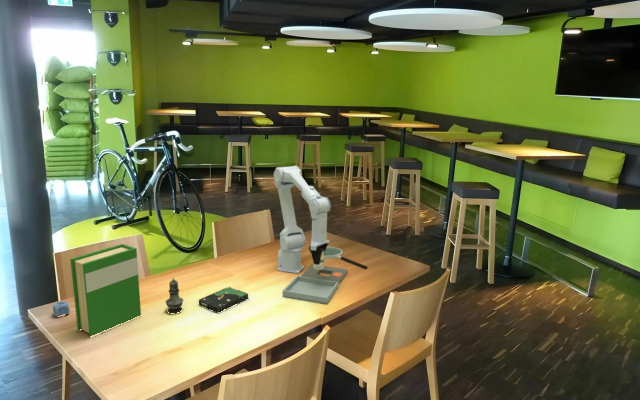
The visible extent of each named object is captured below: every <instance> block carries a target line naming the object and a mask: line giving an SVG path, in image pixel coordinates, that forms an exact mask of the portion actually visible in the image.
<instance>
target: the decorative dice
mask: <svg viewBox="0 0 640 400" xmlns="http://www.w3.org/2000/svg"><path fill="white" fill-rule="evenodd" d="M52 311H53V315H54V314H55V315H56V316H60V315H63V314H68V313H69V314H70V306H69V303H68V302H67V301H65V300H64V301H61V300H60V301H57V302H56V303H54V304H53V305H52ZM69 314H68V315H69ZM55 315H54V316H55Z"/></svg>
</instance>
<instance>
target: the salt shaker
mask: <svg viewBox="0 0 640 400" xmlns="http://www.w3.org/2000/svg"><path fill="white" fill-rule="evenodd" d="M171 279H172V280H170V281H169V289H168V293H169V298H168V299H166V300H165V304H166V306H167V308H168V309H167V310H168V312H169V313H177V312H180V311H181V310H182V308H183V307H182V305H183V302H184V299H183V297H180V295H179V292H180V289H179V282H178V281H177V280H176V279H175V278H174V277H173V278H171ZM168 312H167V313H168ZM169 313H168V314H169ZM180 313H181V312H180Z"/></svg>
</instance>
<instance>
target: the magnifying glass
mask: <svg viewBox="0 0 640 400" xmlns="http://www.w3.org/2000/svg"><path fill="white" fill-rule="evenodd" d="M324 259H326V260H327V259H339V260H341V261H344V262H347V263H349V264H350V265H354V266H355V267H356V266H357V267H359V268H360V269H361V268H362V269H363V270H367V269H368V266H366V265H364V264H363V263H359V262H357V261H355V260H352V259H349V258H347V257H345V256H343V249H341V248H338V247H335V246H329V245H328V246H327V248H326V250H325V254H324Z"/></svg>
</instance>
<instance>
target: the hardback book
mask: <svg viewBox="0 0 640 400" xmlns="http://www.w3.org/2000/svg"><path fill="white" fill-rule="evenodd" d="M70 267H71V278H72V279H71V280H72V289H73V290H72V291H73V299H74V307H75V317H76V319H75V320H76V327H77V330H78V329H79V330H80V329H82V330H83V331H84V332H86V333H88V336H89V335H90V336H92V335H95V334H97V333H100V332H102V331H104V330H107V329H109V328H112V327H114V326H116V325H118V324H121V323H124V322H126V321H128V320H131V319H133V318H135V317H137V316H140V315H141V316H142V310H141V308H142V307H141V296H140V293H141V292H140V282H139V279H140V278H139V266H138V251H137V248H136V247H134V246H130V245H127V244H124V243H120V244H117V245H114V246H110V247H107V248H104V249H100V250H97V251H96V250H95V251H92V252H89V253H86V254H82V255H79V256H76V257H72V258H70ZM141 316H140V317H141ZM131 321H132V320H131ZM90 336H89V337H90Z"/></svg>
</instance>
